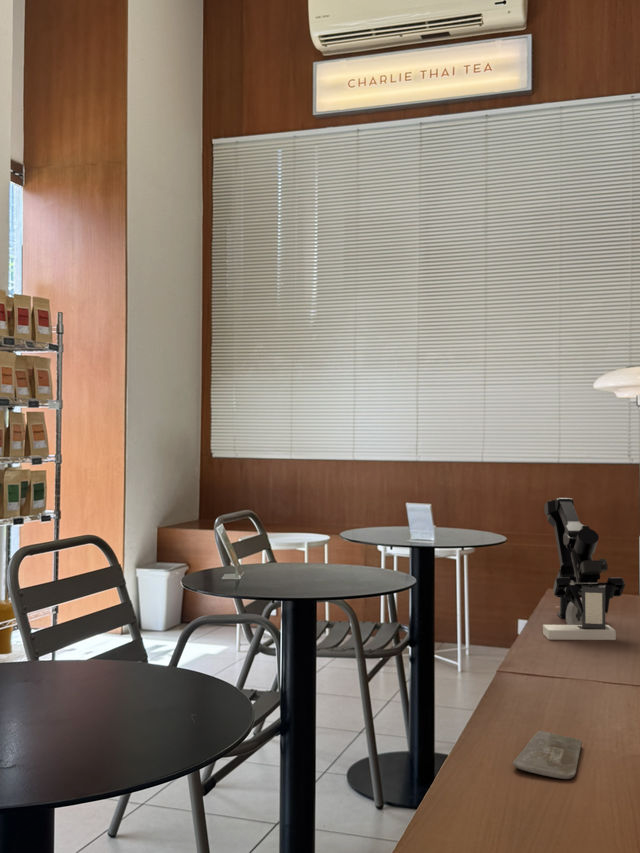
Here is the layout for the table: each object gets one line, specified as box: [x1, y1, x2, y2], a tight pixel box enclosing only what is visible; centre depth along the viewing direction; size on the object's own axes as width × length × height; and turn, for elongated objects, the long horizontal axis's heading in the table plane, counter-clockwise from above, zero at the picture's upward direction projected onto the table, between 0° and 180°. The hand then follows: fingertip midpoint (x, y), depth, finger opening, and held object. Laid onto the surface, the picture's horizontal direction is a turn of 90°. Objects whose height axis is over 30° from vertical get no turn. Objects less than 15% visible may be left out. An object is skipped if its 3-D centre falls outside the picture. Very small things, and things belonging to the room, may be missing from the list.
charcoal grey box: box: [581, 585, 606, 630], centre depth 236 cm, size 3×6×12 cm, turn 76°
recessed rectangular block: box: [542, 624, 617, 641], centre depth 236 cm, size 7×18×2 cm, turn 87°
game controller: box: [565, 597, 582, 625], centre depth 251 cm, size 20×2×8 cm, turn 136°
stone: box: [512, 730, 583, 780], centre depth 146 cm, size 18×3×10 cm
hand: (594, 612), depth 235 cm, fingers closed on charcoal grey box, 6 cm apart
